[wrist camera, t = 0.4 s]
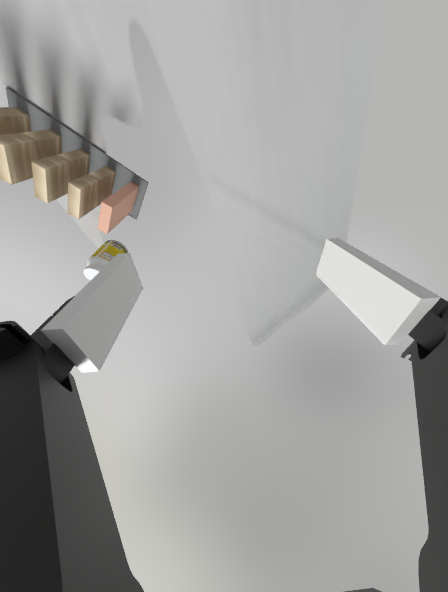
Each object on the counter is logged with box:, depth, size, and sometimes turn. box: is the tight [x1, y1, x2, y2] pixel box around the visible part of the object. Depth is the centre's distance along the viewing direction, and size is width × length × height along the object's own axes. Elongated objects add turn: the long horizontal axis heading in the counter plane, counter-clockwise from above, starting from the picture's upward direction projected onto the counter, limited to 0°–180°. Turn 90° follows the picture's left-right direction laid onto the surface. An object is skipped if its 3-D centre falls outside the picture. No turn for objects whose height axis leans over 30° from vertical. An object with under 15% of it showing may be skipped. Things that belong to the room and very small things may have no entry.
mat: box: [6, 87, 148, 219], centre depth 34 cm, size 22×9×1 cm, turn 56°
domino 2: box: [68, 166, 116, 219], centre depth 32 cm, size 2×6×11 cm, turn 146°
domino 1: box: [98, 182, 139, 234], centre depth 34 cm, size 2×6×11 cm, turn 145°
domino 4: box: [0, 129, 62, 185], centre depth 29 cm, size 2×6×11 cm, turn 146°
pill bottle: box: [83, 240, 128, 281], centre depth 44 cm, size 6×6×11 cm
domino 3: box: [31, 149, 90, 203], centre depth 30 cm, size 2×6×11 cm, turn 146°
